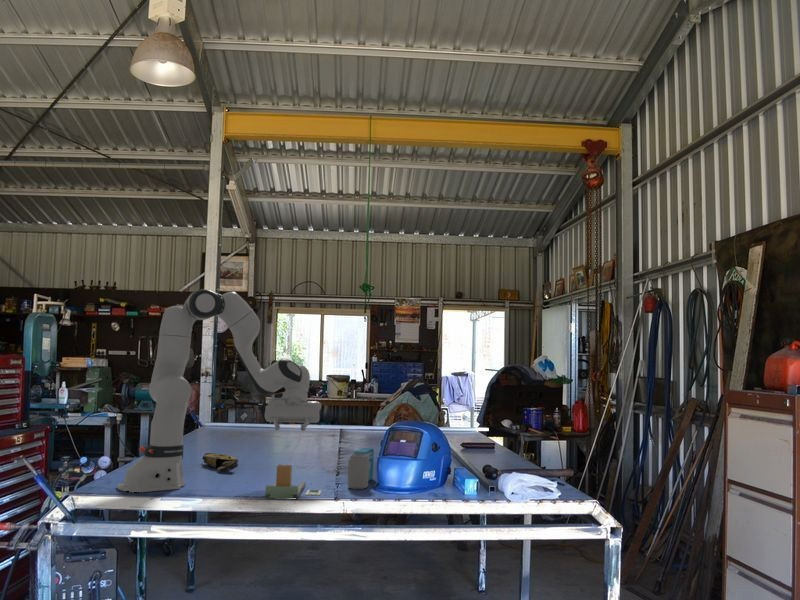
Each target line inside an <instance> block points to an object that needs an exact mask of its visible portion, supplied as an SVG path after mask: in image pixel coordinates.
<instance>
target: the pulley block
mask: <svg viewBox="0 0 800 600" xmlns="http://www.w3.org/2000/svg"><path fill="white" fill-rule="evenodd" d="M202 460H203V463H205V464H206V465H208V466H211V467H213V468H215V469H216V468H217V469H216V470H217V472H219V473H222V472H229V471H230V470H231V469H233V468H236V467H238V466H239V464H238V463H239V460H238V458H237V457H234V456H232V455H227V454H220V453H212V452H210V453H209V452H208V453H204V455H203V456H202ZM235 466H236V467H235Z"/></svg>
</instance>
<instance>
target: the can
mask: <svg viewBox="0 0 800 600" xmlns="http://www.w3.org/2000/svg"><path fill="white" fill-rule="evenodd" d="M347 463H348V464H347V487H348V488H349V489H350V488H351V489H350V490H354V489H362V490H365V489H364V488H366V489H367V487H368V486H369V481H368V473H369V459H368V458H367V455H365V454H354V453H351V454H350V455H349V457H348V461H347Z"/></svg>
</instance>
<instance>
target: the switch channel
mask: <svg viewBox="0 0 800 600" xmlns="http://www.w3.org/2000/svg"><path fill="white" fill-rule="evenodd" d="M305 487H306V481H301V482H300V483H299V485H291V486H276V481H275V482H274V483H273V484H271V485H270V484H268V485H265V493H264V495H265V496H264V499H265V498H296V499H295V500H298V499H299V497H300V496H299V495H301V493H302V492H303V490H304V489H305ZM322 491H323V490H321V489H319V490H318V489H314V490H313V489H307V491H305V494H304V496H321V494H322ZM297 498H298V499H297Z"/></svg>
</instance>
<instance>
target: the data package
mask: <svg viewBox="0 0 800 600" xmlns="http://www.w3.org/2000/svg"><path fill="white" fill-rule="evenodd" d="M374 452H375V451H374V448H370V447H368V448H365V447H361V448H358V449H356V450H354V452H353V454H365V455H367V458H368V459H369V473H368V482H369V480H370V481H371V479H373V476H374V455H375V454H374Z"/></svg>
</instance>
